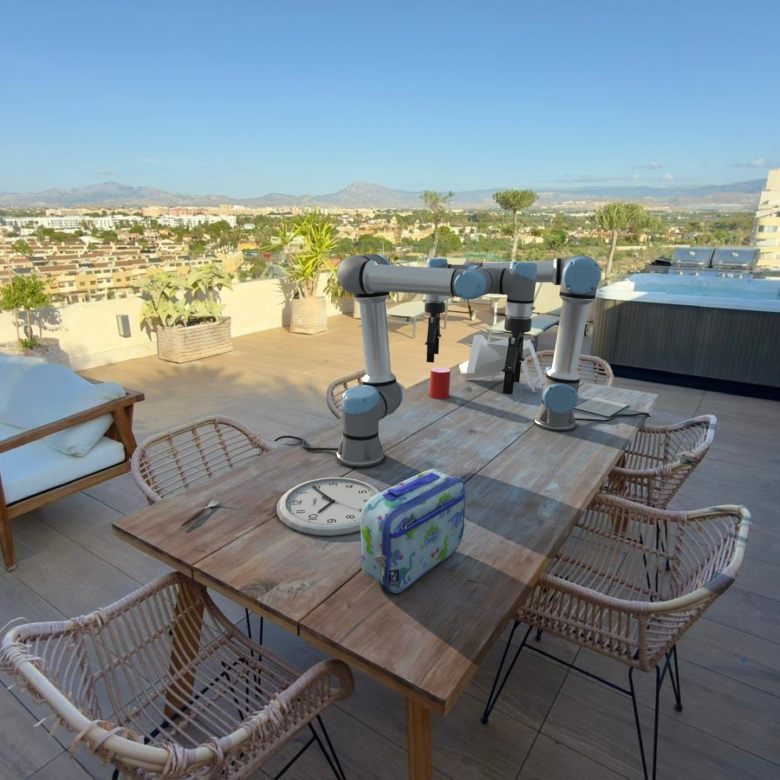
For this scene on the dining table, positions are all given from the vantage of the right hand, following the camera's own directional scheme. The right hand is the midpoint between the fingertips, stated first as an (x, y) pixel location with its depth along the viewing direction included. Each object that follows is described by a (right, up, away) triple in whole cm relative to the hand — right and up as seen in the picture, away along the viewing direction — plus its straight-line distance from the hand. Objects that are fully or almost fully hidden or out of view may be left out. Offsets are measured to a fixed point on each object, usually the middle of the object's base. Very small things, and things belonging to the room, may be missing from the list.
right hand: (432, 358), depth 197 cm
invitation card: (+75, -19, +29) cm, 83 cm away
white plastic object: (+36, -10, +56) cm, 68 cm away
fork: (-66, -45, -59) cm, 99 cm away
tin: (+6, -15, +40) cm, 43 cm away
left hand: (+20, -11, -41) cm, 47 cm away
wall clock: (-32, -44, -55) cm, 77 cm away
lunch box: (-11, -52, -80) cm, 96 cm away
